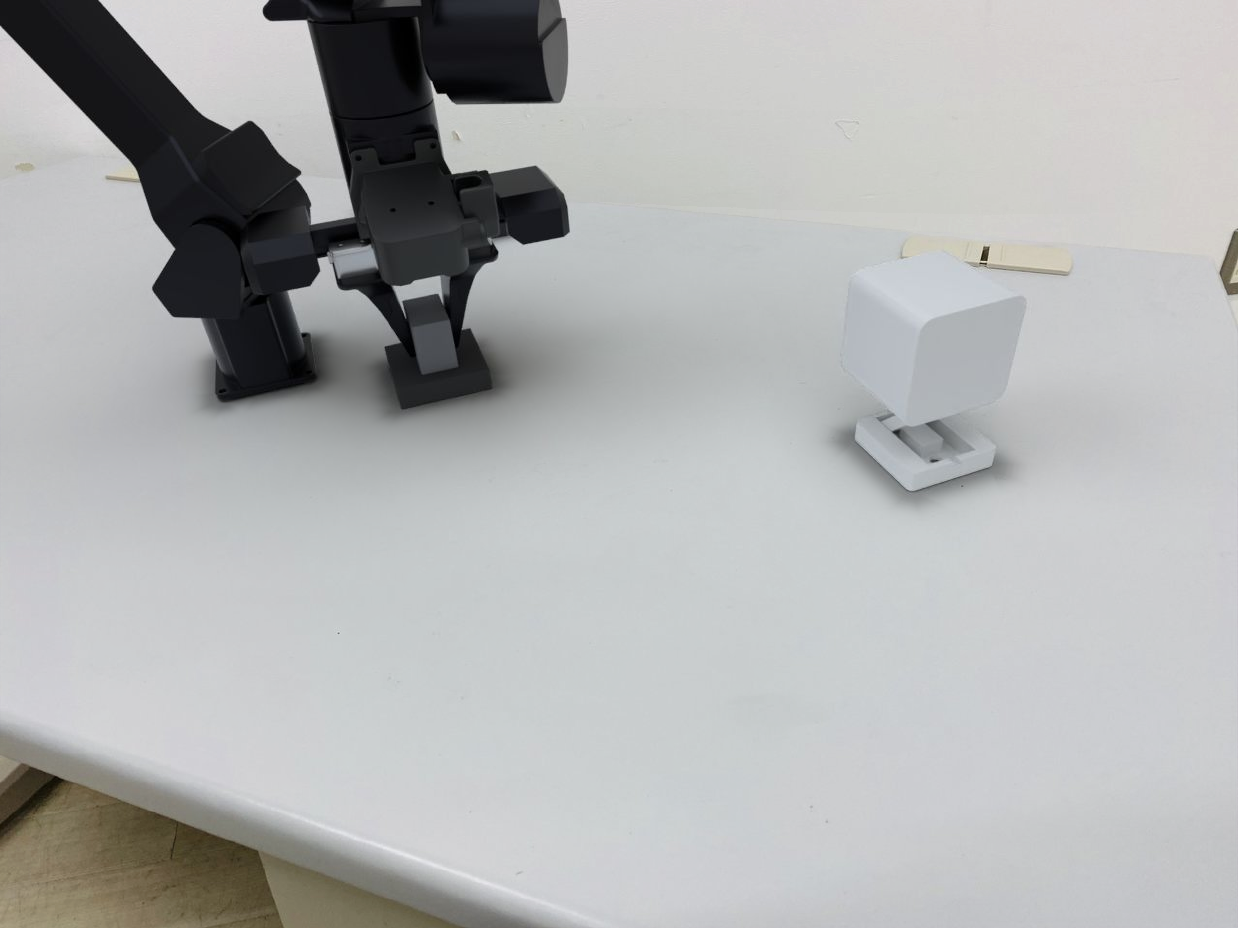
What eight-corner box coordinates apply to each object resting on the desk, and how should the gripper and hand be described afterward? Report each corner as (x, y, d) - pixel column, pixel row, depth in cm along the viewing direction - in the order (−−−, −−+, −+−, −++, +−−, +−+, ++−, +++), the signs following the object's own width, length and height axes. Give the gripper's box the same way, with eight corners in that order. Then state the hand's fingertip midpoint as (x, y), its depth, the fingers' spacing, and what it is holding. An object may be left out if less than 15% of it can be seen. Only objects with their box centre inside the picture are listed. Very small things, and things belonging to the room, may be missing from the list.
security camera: (922, 400, 54) (950, 246, 48) (1000, 463, 49) (1042, 299, 43) (831, 426, 53) (848, 270, 47) (902, 494, 47) (932, 329, 41)
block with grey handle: (492, 388, 58) (481, 320, 55) (401, 409, 57) (384, 341, 54) (473, 346, 63) (462, 281, 60) (388, 365, 61) (372, 299, 58)
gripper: (199, 179, 41) (294, 452, 50) (587, 116, 45) (606, 378, 55) (205, 115, 49) (285, 359, 59) (530, 68, 53) (556, 302, 63)
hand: (433, 350), depth 58 cm, fingers closed on block with grey handle, 2 cm apart
